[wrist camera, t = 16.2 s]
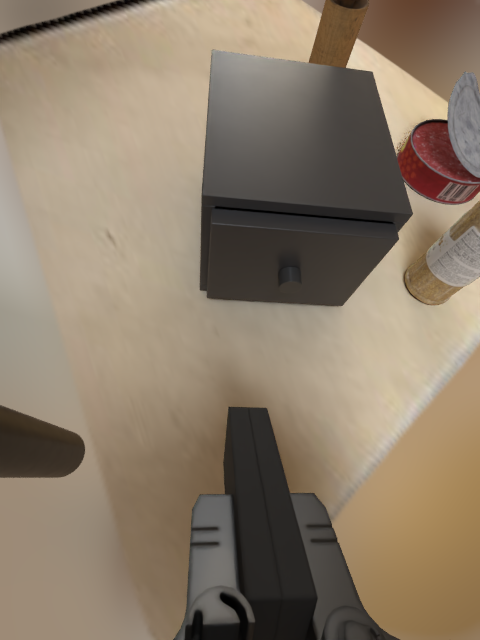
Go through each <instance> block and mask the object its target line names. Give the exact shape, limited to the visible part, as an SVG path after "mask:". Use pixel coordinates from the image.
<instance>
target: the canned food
mask: <svg viewBox="0 0 480 640" xmlns="http://www.w3.org/2000/svg"><path fill="white" fill-rule="evenodd" d="M397 160H398V164H399V167H400V171H401V174H402V178H403V180H404V181H405V182H406V183H407V184H408V185H409V186H410V187H411V188H412V189H413V190H414V191H416V192H417V193H419V194H420V195H422V196H424V197H426V198H428V199H430V200H433V201H435V202H439V203H443V204H451V205H453V204H462V203H466V202H468V201H470V200H472V199H473V198H474V197H475V196H476V194H477V193H478V192H479V191H480V93H479V90H478V83H477V79H476V77H475V75H474V73H466V72H464V74H463V75H462V76H461V78H460V79H459V80H458V81H457V82H456V84H455V87H454V89H453V91H452V94H451V97H450V101H449V104H448V120H441V119H432V120H426V121H424V122H421V123H419V124H418V125H417V126H415V128H414V129H413V130H412V133H411V134H410V136H409V137H408V139H407V141H406V142H405V144H404V145H403V147H402V149H401V150H400V151H399V153H398V155H397Z"/></svg>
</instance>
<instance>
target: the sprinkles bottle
mask: <svg viewBox="0 0 480 640" xmlns="http://www.w3.org/2000/svg"><path fill="white" fill-rule="evenodd" d="M479 277H480V201H479V202H478V203H477V204H475V206H474V207H473V208H472V209H470V210H469V211H468V212H466V213H465V214H464V215H463V216H462V217H461V218H460V219H459V220H458V221H457V222H456V223H455V224H454V225H453V226H452V227H451V228H450V229H449V230H448V231H447V232H446V233H445V234H444V235H443V236H442V237H441V238H439V239H438V240H437V241H436V242H435V243H434V244H433V245H432V246H431V247H430V248H429V250H428V251H427V252H426V253H425V254H424V255H423V256H422V257H421V258H420V259H419V260H418V261H417V262H416V263H414V264H412V265H411V266H410V267H409V268H408V269H407V272H406V274H405V283H406V286H407V288H408V290H409V291H410V293H411V294H412V295H413V296H414V297H416V298H417V299H418V300H420V301H422V302H424V303H426V304H430V305H439V304H442V303H444V302H446V301H447V300H448V299H449V298H450V297H451V296H452V295H453V294H455V293H456V292H457V291H459V290H460V289H461V288H463V287H464V286H467V285H469V284H470V283H472V282H473V281H475V280H476V279H477V278H479Z"/></svg>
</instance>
